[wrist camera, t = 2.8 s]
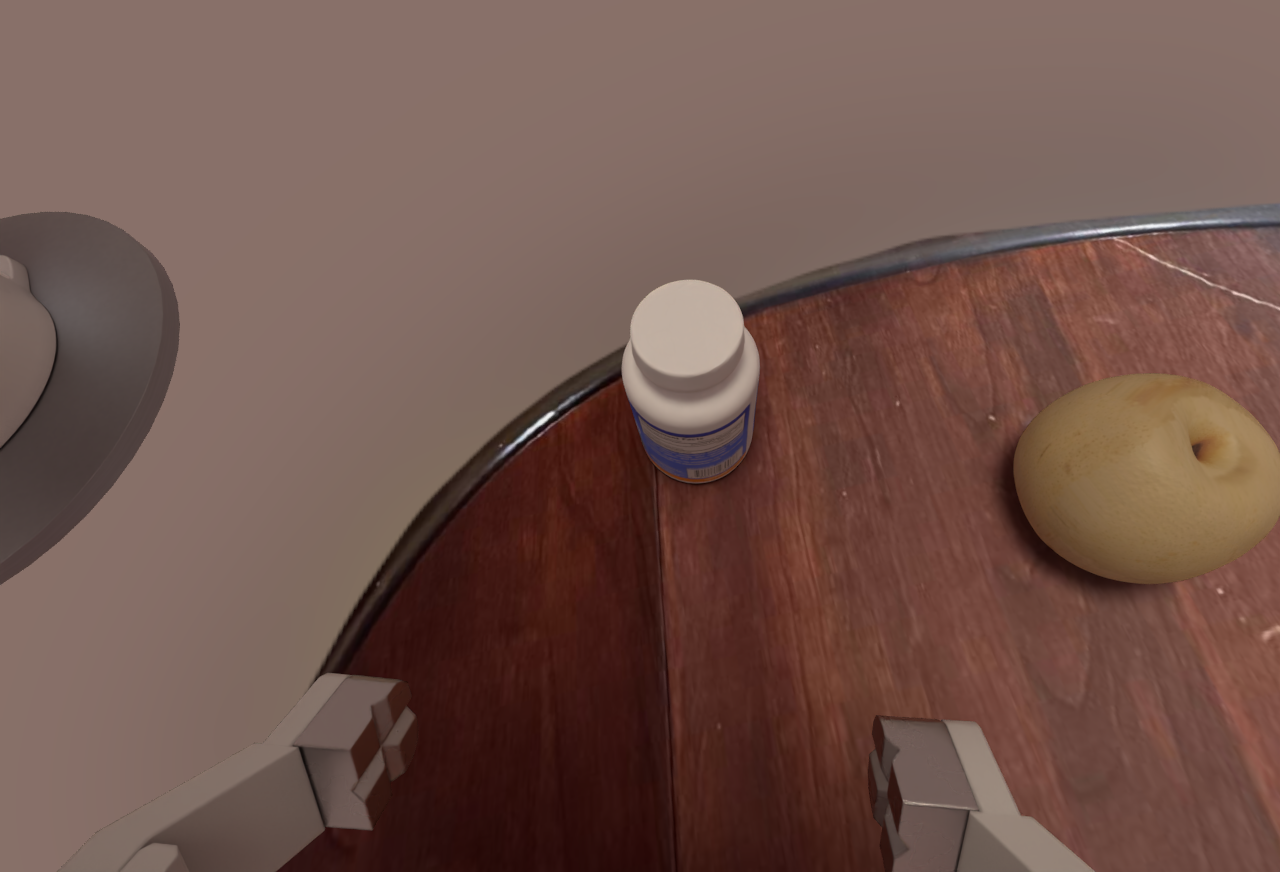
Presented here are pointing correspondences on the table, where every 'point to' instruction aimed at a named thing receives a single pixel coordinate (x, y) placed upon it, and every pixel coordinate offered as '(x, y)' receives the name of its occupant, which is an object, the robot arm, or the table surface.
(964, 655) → the table surface
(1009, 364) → the table surface
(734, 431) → the pill bottle
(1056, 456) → the apple
